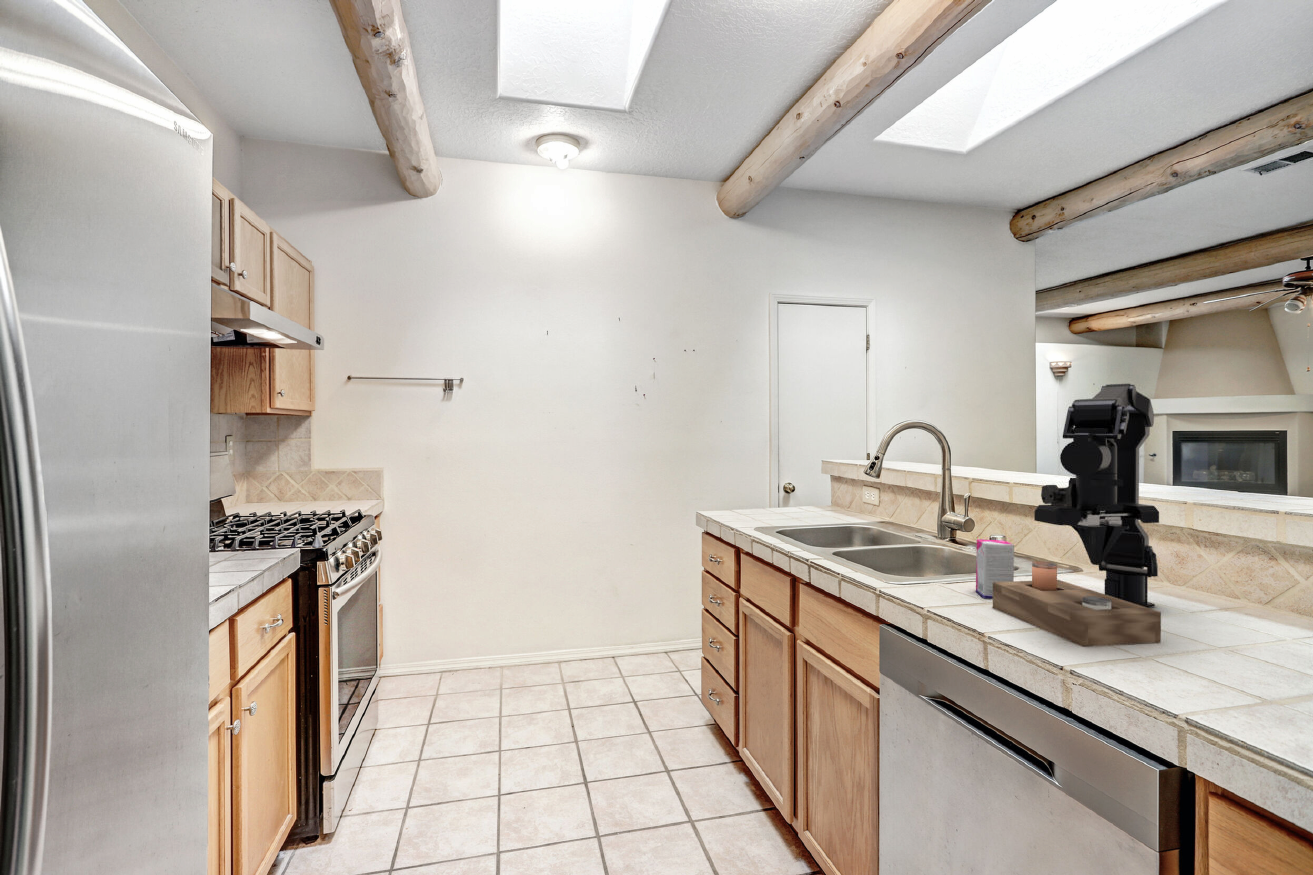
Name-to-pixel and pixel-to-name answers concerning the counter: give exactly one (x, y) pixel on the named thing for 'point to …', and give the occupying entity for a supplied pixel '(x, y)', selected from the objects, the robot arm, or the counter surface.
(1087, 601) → the plug
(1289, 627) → the counter surface
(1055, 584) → the terracotta plug
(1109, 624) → the wooden holder block
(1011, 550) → the supplement box
